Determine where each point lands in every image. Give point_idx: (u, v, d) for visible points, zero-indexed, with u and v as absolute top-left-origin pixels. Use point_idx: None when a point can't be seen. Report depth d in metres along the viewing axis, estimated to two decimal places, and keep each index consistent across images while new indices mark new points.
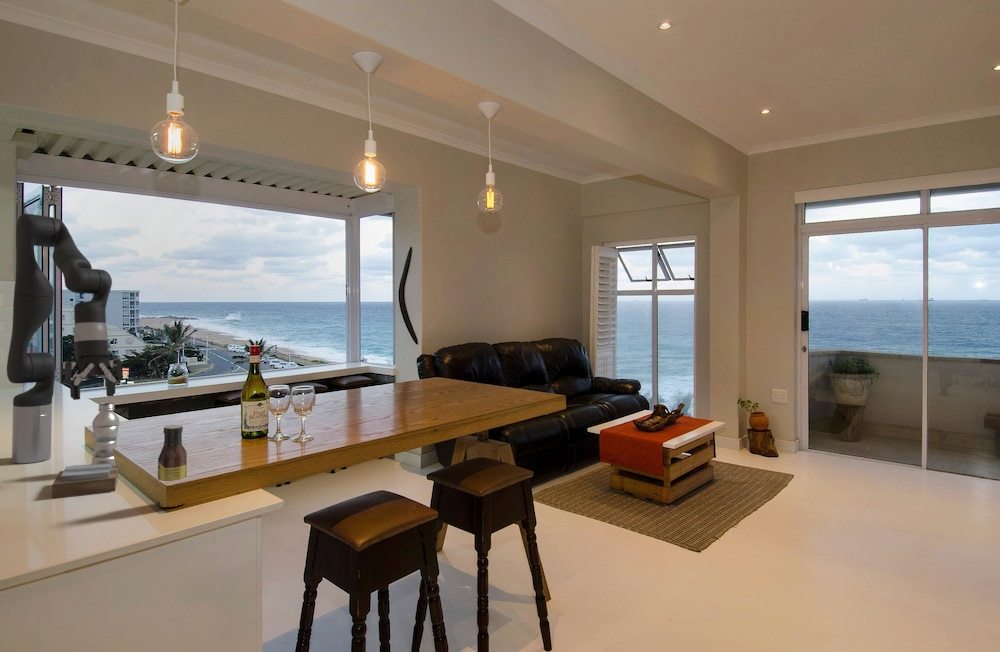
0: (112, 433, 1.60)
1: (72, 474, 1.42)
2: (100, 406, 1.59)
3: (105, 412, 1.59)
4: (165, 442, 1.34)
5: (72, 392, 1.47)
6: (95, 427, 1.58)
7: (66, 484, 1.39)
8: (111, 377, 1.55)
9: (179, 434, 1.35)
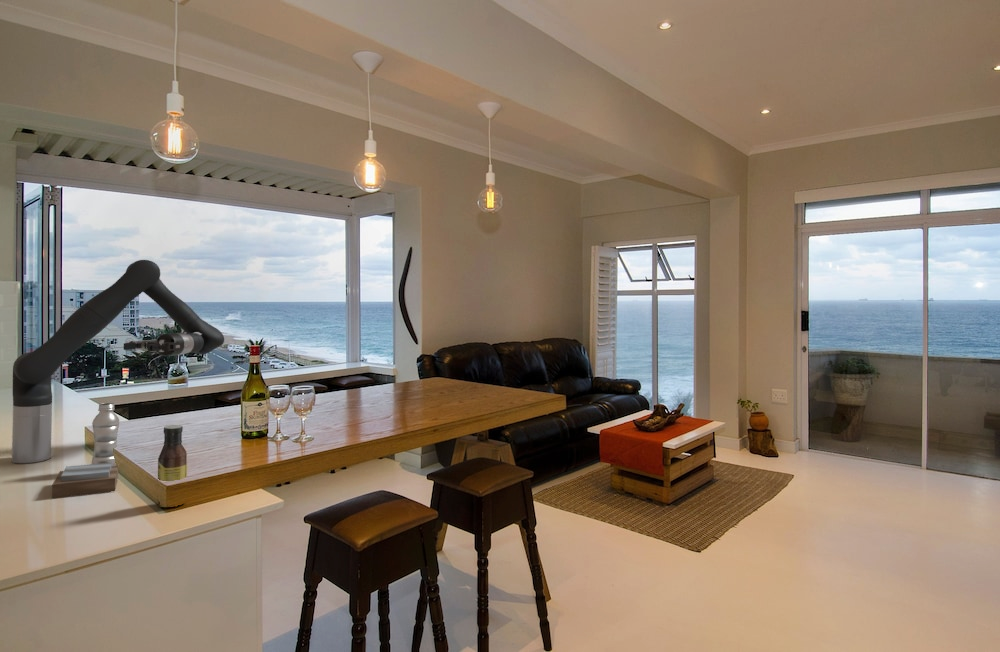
0: (112, 433, 1.60)
1: (72, 474, 1.42)
2: (100, 406, 1.59)
3: (105, 412, 1.59)
4: (165, 442, 1.34)
5: (156, 348, 1.72)
6: (95, 427, 1.58)
7: (66, 484, 1.39)
8: (138, 349, 1.76)
9: (179, 434, 1.35)
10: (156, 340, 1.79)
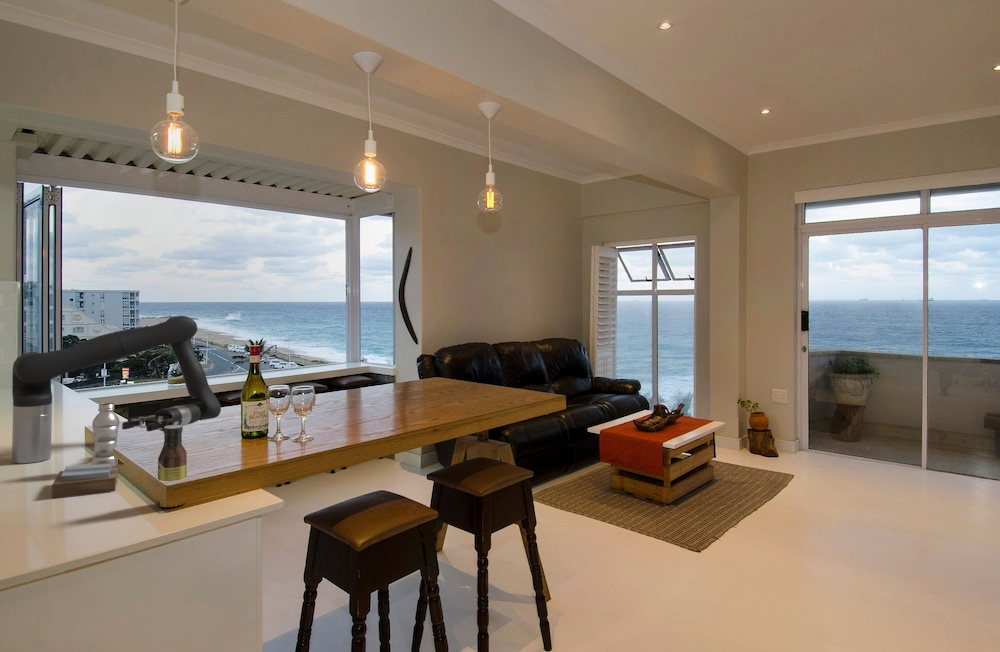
0: (112, 433, 1.60)
1: (72, 474, 1.42)
2: (100, 406, 1.59)
3: (105, 412, 1.59)
4: (165, 442, 1.34)
5: (155, 427, 1.73)
6: (95, 427, 1.58)
7: (66, 484, 1.39)
8: (136, 426, 1.77)
9: (179, 434, 1.35)
10: (154, 416, 1.80)
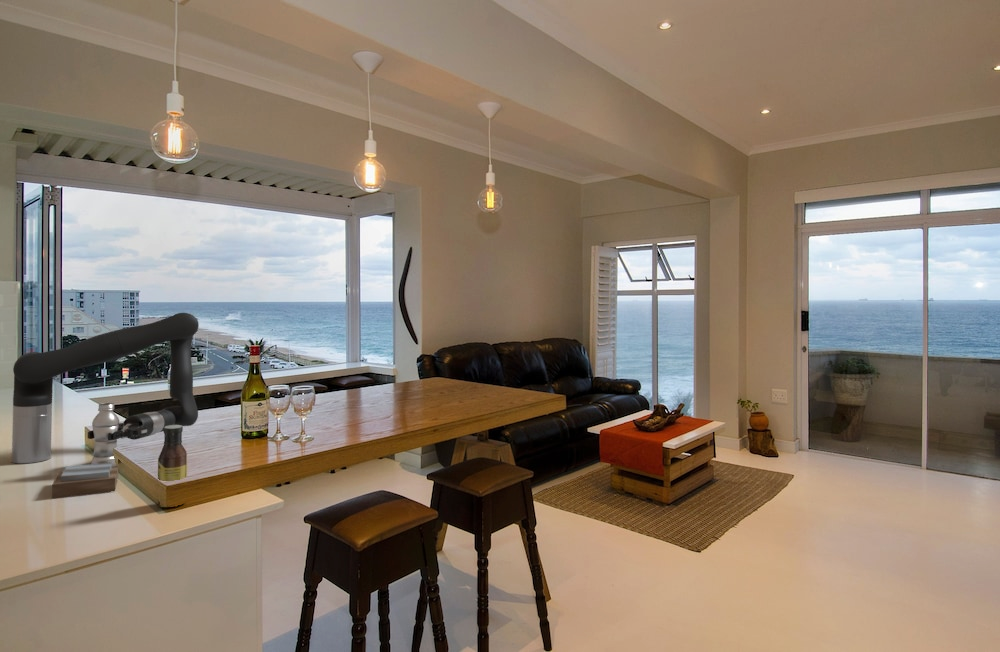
0: None
1: (72, 474, 1.42)
2: (100, 406, 1.59)
3: (105, 412, 1.59)
4: (165, 442, 1.34)
5: (118, 436, 1.60)
6: (95, 427, 1.58)
7: (66, 484, 1.39)
8: None
9: (179, 434, 1.35)
10: (123, 424, 1.68)
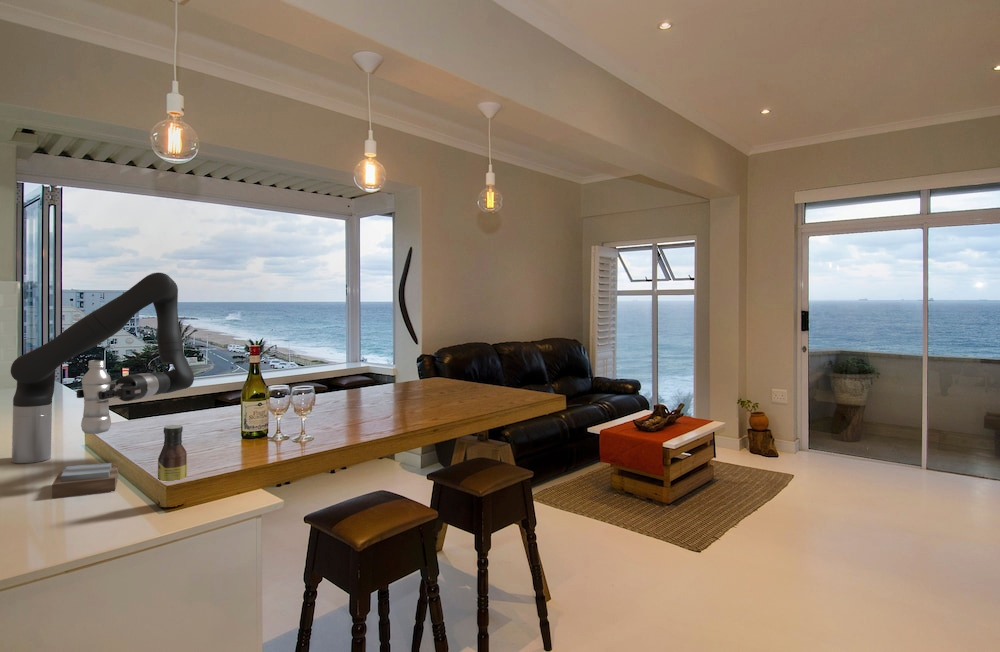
0: None
1: (72, 474, 1.42)
2: (90, 363, 1.48)
3: (95, 369, 1.48)
4: (165, 442, 1.34)
5: (109, 395, 1.49)
6: (85, 385, 1.47)
7: (66, 484, 1.39)
8: None
9: (179, 434, 1.35)
10: (115, 384, 1.57)
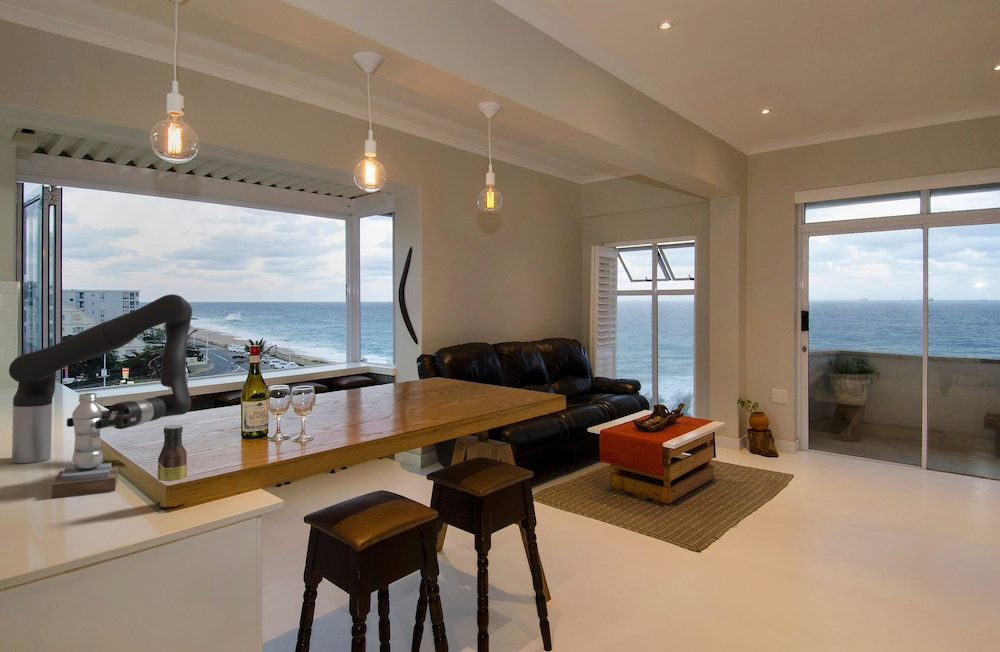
0: (94, 426, 1.46)
1: (72, 474, 1.42)
2: (80, 396, 1.45)
3: (86, 403, 1.45)
4: (165, 442, 1.34)
5: (106, 424, 1.46)
6: (75, 419, 1.44)
7: (66, 484, 1.39)
8: None
9: (179, 434, 1.35)
10: (107, 412, 1.53)
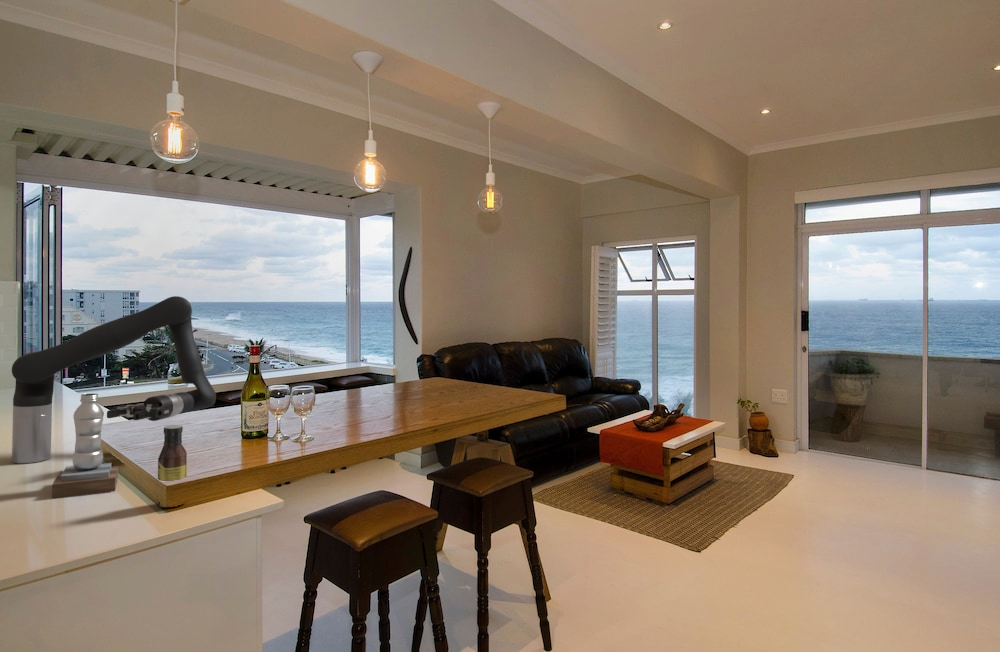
0: (95, 427, 1.46)
1: (72, 474, 1.42)
2: (82, 397, 1.45)
3: (88, 403, 1.45)
4: (165, 442, 1.34)
5: (143, 416, 1.58)
6: (76, 420, 1.43)
7: (66, 484, 1.39)
8: (123, 415, 1.63)
9: (179, 434, 1.35)
10: (142, 405, 1.66)
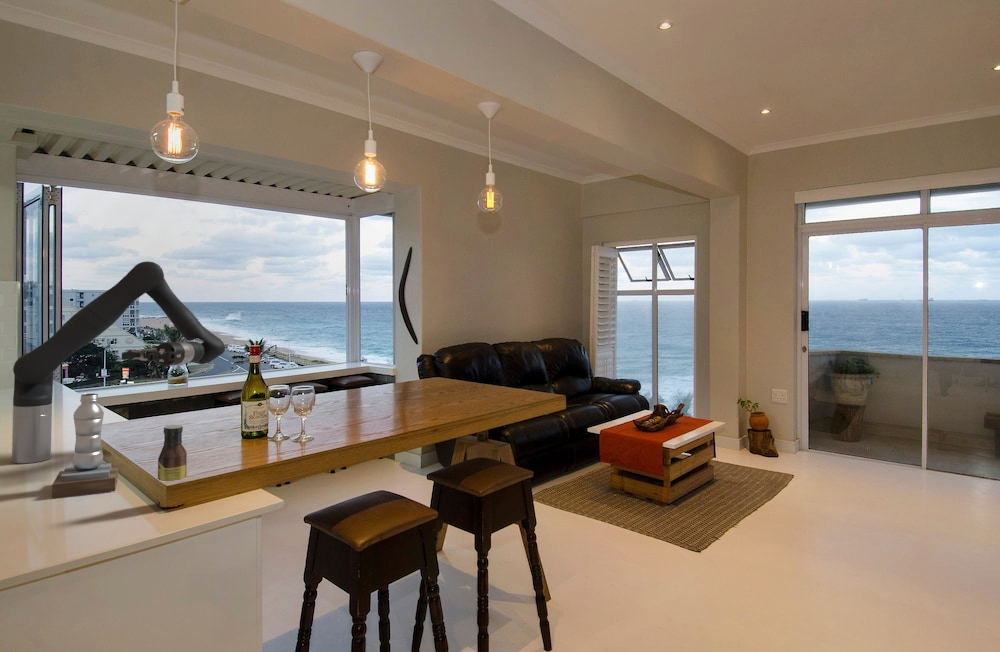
0: (95, 427, 1.46)
1: (72, 474, 1.42)
2: (82, 397, 1.45)
3: (87, 403, 1.45)
4: (165, 442, 1.34)
5: (156, 358, 1.63)
6: (76, 420, 1.43)
7: (66, 484, 1.39)
8: (137, 358, 1.68)
9: (179, 434, 1.35)
10: (156, 349, 1.71)
